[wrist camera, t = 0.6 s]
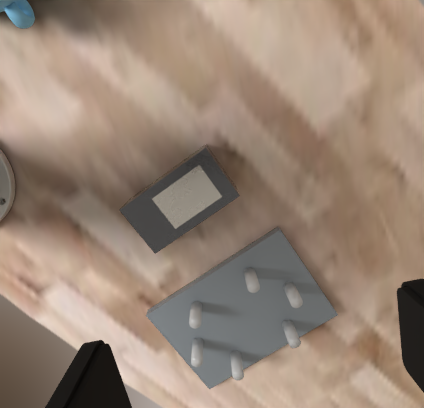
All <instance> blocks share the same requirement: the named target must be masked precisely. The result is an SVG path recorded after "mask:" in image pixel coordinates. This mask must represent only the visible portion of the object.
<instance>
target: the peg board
mask: <svg viewBox="0 0 424 408" xmlns="http://www.w3.org/2000/svg"><path fill="white" fill-rule="evenodd" d="M337 315H338V314H337V313H336V311H335V310H334V308H333V307H332V305H331V304H330V302H329V301H328V299H327V298H326V296H325V295H324V293H323V292H322V290H321V289H320V287H319V286H318V284H317V283H316V282H315V280H314V279H313V277H312V276H311V274H310V273H309V271H308V270H307V268H306V267H305V265H304V264H303V262H302V261H301V259H300V258H299V256H298V255H297V253H296V252H295V251H294V249H293V248H292V246H291V245H290V243H289V242H288V240H287V239H286V237H285V236H284V234H283V233H282V231H281V230H280V228H279V227H277V228H275V229H273V230H272V231H270V232H269V233H267V234H266V235H264V236H263V237H261V238H259V239H258V240H256V241H255V242H253V243H252V244H250V245H249V246H247V247H245V248H244V249H242V250H241V251H239V252H238V253H236V254H235V255H233V256H231V257H230V258H228V259H227V260H225V261H224V262H222V263H220V264H219V265H217V266H216V267H214V268H213V269H211V270H210V271H208V272H206V273H205V274H203V275H202V276H200V277H199V278H197V279H196V280H194V281H192V282H191V283H189V284H188V285H186V286H185V287H183V288H182V289H180V290H178V291H177V292H175V293H174V294H172V295H171V296H169V297H167V298H166V299H164V300H163V301H161V302H160V303H158V304H157V305H155V306H153V307H152V308H150V309H149V310H148V311H147V314H146V316H147V317H148V318H149V320H150V321H151V322H152V323H153V324H154V325H155V327H156V328H157V329H158V330H159V331H160V332H161V333H162V335H163V336H164V337H165V338H166V339H167V340H168V342H169V343H170V344H171V345H172V346H173V347H174V349H175V350H176V351H177V352H178V353H179V354H180V356H181V357H182V358H183V359H184V360H185V361H186V362H187V364H188V365H189V366H190V367H191V368H192V369H193V371H194V372H195V373H196V374H197V375H198V376H199V378H200V379H201V380H202V381H203V382H204V383H205V385H206V386H207V387H208V388H209V389H211V388H212V387H214V386H216V385H218V384H219V383H221V382H223V381H224V380H226V379H228V378H230V377H231V376H232V377H233V379H235V380H241V379H242V378H243V377H244V373H243V369H245V368H247V367H249V366H250V365H252V364H254V363H256V362H257V361H259V360H261V359H262V358H264V357H266V356H268V355H269V354H271V353H273V352H275V351H276V350H278V349H280V348H282V347H283V346H285V345H287V344H288V343H289V346H290V347H292V348H297V347H298V346H300V344H301V341H300V339H299V337H301V336H302V335H304V334H306V333H307V332H309V331H311V330H313V329H314V328H316V327H318V326H320V325H321V324H323V323H325V322H326V321H328V320H330V319H332V318H333V317H335V316H337Z"/></svg>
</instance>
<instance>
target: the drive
mask: <svg viewBox="0 0 424 408" xmlns="http://www.w3.org/2000/svg"><path fill="white" fill-rule="evenodd" d="M239 196H240V195H239V193H238V191H237V188H236V186H235V185H234V183H233V182H232V181H231V179H230V178H229V176H228V175H227V173H226V172H225V171H224V169H223V168H222V166H221V165H220V163H219V162H218V161H217V159H216V158H215V156H214V155H213V154H212V152H211V151H210V149H209V148H208V146H207V145H204V146H203V147H202V148H200V149H199V150H197V151H196V152H195V153H193V154H192V155H190V156H189V157H188V158H186V159H185V160H184V161H182V162H181V163H179V164H178V165H177V166H175V167H174V168H173V169H171V170H170V171H168V172H167V173H166V174H164V175H163V176H161V177H160V178H159V179H157V180H156V181H155V182H153V183H152V184H150V185H149V186H148V187H146V188H145V189H144V190H142V191H141V192H139V193H138V194H137V195H135V196H134V197H133V198H131V199H130V200H129V201H128V202H127V203H126V204H125V205H124V206H123V207H122V208H121V209H120V211H121V213H122V214H123V215H124V216H125V218H126V219H127V220H128V221H129V222H130V224H131V225H132V226H133V227H134V228H135V230H136V231H137V232H138V233H139V235H140V236H141V237H142V238H143V239H144V241H145V242H146V243H147V244H148V246H149V247H150V248H151V249H152V250H153V252H154V253H157V252H158V251H160V250H161V249H163V248H164V247H166V246H167V245H169V244H170V243H171V242H173V241H174V240H176V239H177V238H179V237H180V236H182V235H183V234H185V233H186V232H188V231H189V230H190V229H192V228H193V227H195V226H196V225H198V224H199V223H201V222H202V221H204V220H205V219H207V218H208V217H209V216H211V215H212V214H214V213H215V212H217V211H218V210H220V209H221V208H223V207H224V206H226V205H227V204H228V203H230V202H231V201H233V200H234V199H236V198H237V197H239Z"/></svg>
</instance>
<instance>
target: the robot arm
mask: <svg viewBox="0 0 424 408" xmlns="http://www.w3.org/2000/svg"><path fill="white" fill-rule="evenodd" d="M14 197H15V179H14V174H13V171H12V168H11V165H10V163H9V161H8V159H7V158H6V156H5V154H4V153H3V152H2V150H1V149H0V221H1V220H2V219H3V218H4V217H5V216H6V215H7V213H8V212H9V210H10V208H11V206H12V204H13V201H14ZM397 299H398V311H399V324H400V336H401V348H402V359H403V363H404V366H405V368H406V370H407V372H408V373H409V374H410V376H411V377H412V378H413V380H414V381H415V382H416V383H417V385H418V386H419V387H420V389H421V390H422V391H423V392H424V279H417V280H412V281H407V282H403V283H402V285H401V288H398V289H397ZM45 408H132V406H131V404H130V401H129V398H128V395H127V392H126V390H125V387H124V384H123V381H122V378H121V375H120V373H119V370H118V367H117V364H116V361H115V359H114V356H113V353H112V350H111V347H110V345H109V344H105V343H104V342H103V341H102V340H99V341H93V342H88V343H84V344H83V345H82V346H81V348H80V349H79V351H78V353H77V355H76V356H75V358H74V360H73V361H72V363H71V365H70V366H69V368H68V370H67V372H66V373H65V375H64V377H63V378H62V380H61V382H60V383H59V385H58V387H57V388H56V390H55V392H54V394H53V395H52V397H51V399H50V401H49V402H48V404H47V405H46V407H45Z"/></svg>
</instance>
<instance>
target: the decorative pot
mask: <svg viewBox="0 0 424 408" xmlns="http://www.w3.org/2000/svg"><path fill="white" fill-rule="evenodd" d="M3 11H5V12H6V13H7V15H8V17H9V18H10V20H11V21H12V22H13V23H14V24H15V25H16V26H17V27H19V28H28V27H31V26H32V25H33V23H34V21H35V16H34V12H33V10H32V8H31V6H30V4H29V3H28V1H27V0H0V12H3Z"/></svg>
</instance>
